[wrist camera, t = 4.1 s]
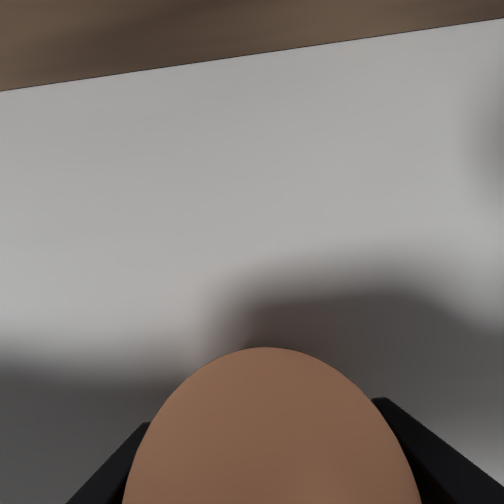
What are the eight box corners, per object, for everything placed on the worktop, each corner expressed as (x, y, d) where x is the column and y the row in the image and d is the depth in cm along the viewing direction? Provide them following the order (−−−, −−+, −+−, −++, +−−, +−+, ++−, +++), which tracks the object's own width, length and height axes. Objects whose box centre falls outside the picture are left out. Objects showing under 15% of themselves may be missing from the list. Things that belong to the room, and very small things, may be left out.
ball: (189, 467, 10) (101, 883, 4) (152, 317, 8) (-81, 649, 2) (357, 450, 10) (518, 862, 4) (353, 293, 8) (611, 593, 2)
